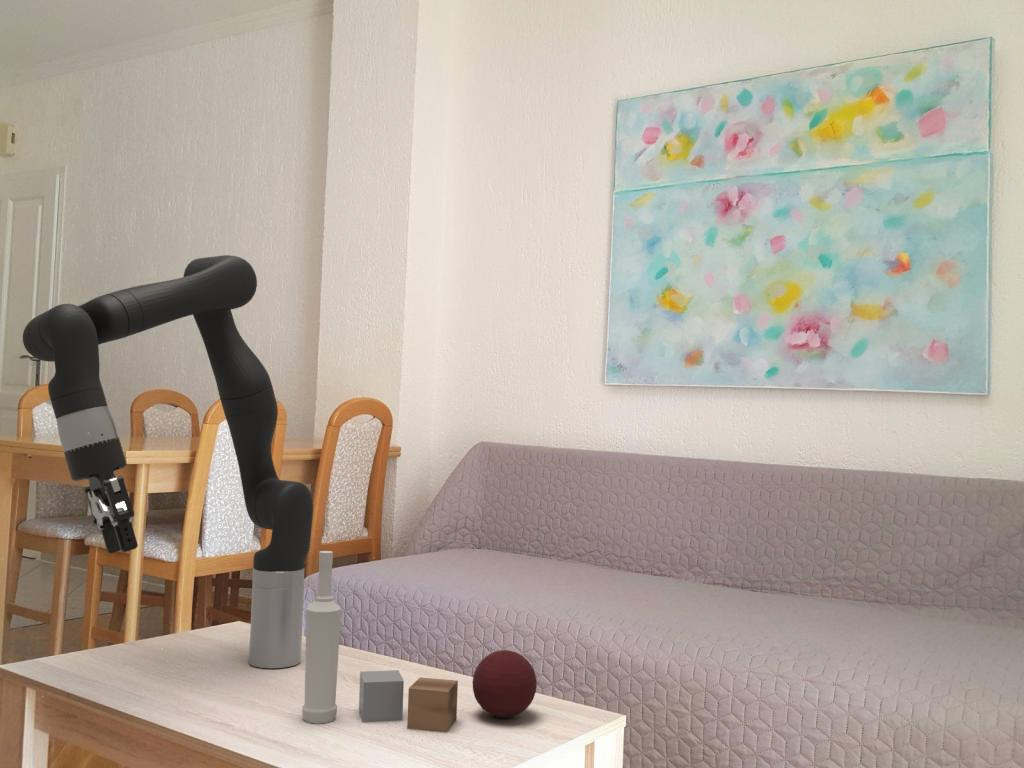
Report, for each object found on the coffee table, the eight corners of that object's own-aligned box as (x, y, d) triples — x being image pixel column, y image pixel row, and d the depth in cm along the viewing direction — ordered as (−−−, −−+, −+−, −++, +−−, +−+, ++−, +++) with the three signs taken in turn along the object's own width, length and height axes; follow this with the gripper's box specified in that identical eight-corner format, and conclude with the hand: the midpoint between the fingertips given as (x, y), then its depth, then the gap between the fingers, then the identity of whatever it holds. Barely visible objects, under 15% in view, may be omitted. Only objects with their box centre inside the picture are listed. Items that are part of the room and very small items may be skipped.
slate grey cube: (358, 710, 145) (360, 671, 145) (397, 708, 146) (398, 670, 147) (362, 723, 139) (363, 682, 139) (402, 721, 141) (403, 680, 141)
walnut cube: (418, 716, 143) (420, 677, 143) (456, 720, 142) (457, 680, 142) (407, 729, 137) (408, 688, 137) (446, 733, 136) (448, 691, 136)
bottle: (343, 715, 142) (349, 551, 143) (325, 726, 137) (332, 555, 138) (313, 711, 143) (320, 548, 144) (294, 721, 139) (302, 552, 139)
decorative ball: (458, 717, 143) (460, 651, 143) (496, 702, 151) (498, 640, 152) (511, 731, 137) (513, 663, 138) (548, 715, 145) (550, 650, 146)
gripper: (129, 430, 130) (162, 541, 130) (106, 441, 142) (136, 543, 142) (73, 444, 126) (107, 559, 126) (54, 455, 137) (85, 560, 137)
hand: (122, 550), depth 134 cm, fingers open, 8 cm apart
